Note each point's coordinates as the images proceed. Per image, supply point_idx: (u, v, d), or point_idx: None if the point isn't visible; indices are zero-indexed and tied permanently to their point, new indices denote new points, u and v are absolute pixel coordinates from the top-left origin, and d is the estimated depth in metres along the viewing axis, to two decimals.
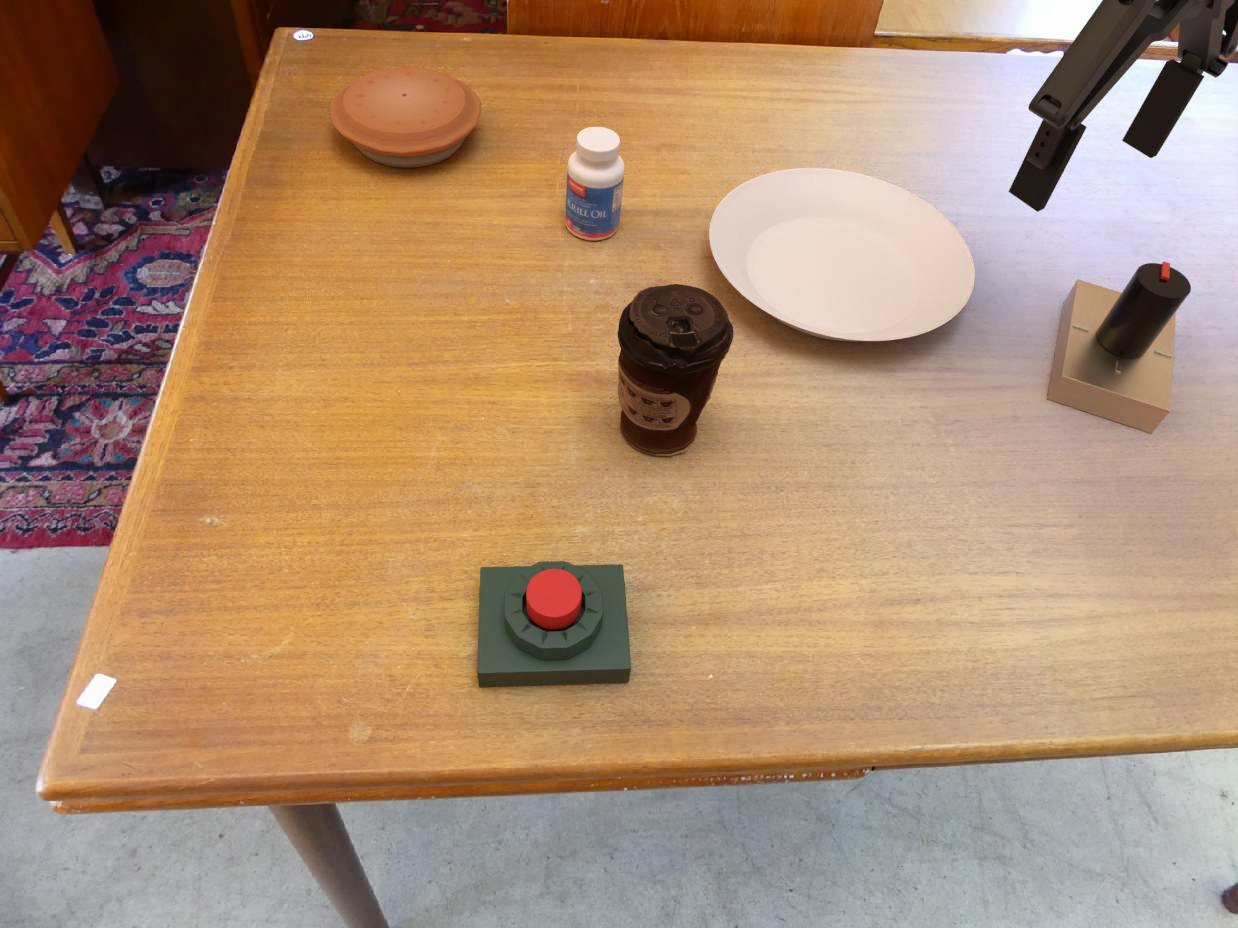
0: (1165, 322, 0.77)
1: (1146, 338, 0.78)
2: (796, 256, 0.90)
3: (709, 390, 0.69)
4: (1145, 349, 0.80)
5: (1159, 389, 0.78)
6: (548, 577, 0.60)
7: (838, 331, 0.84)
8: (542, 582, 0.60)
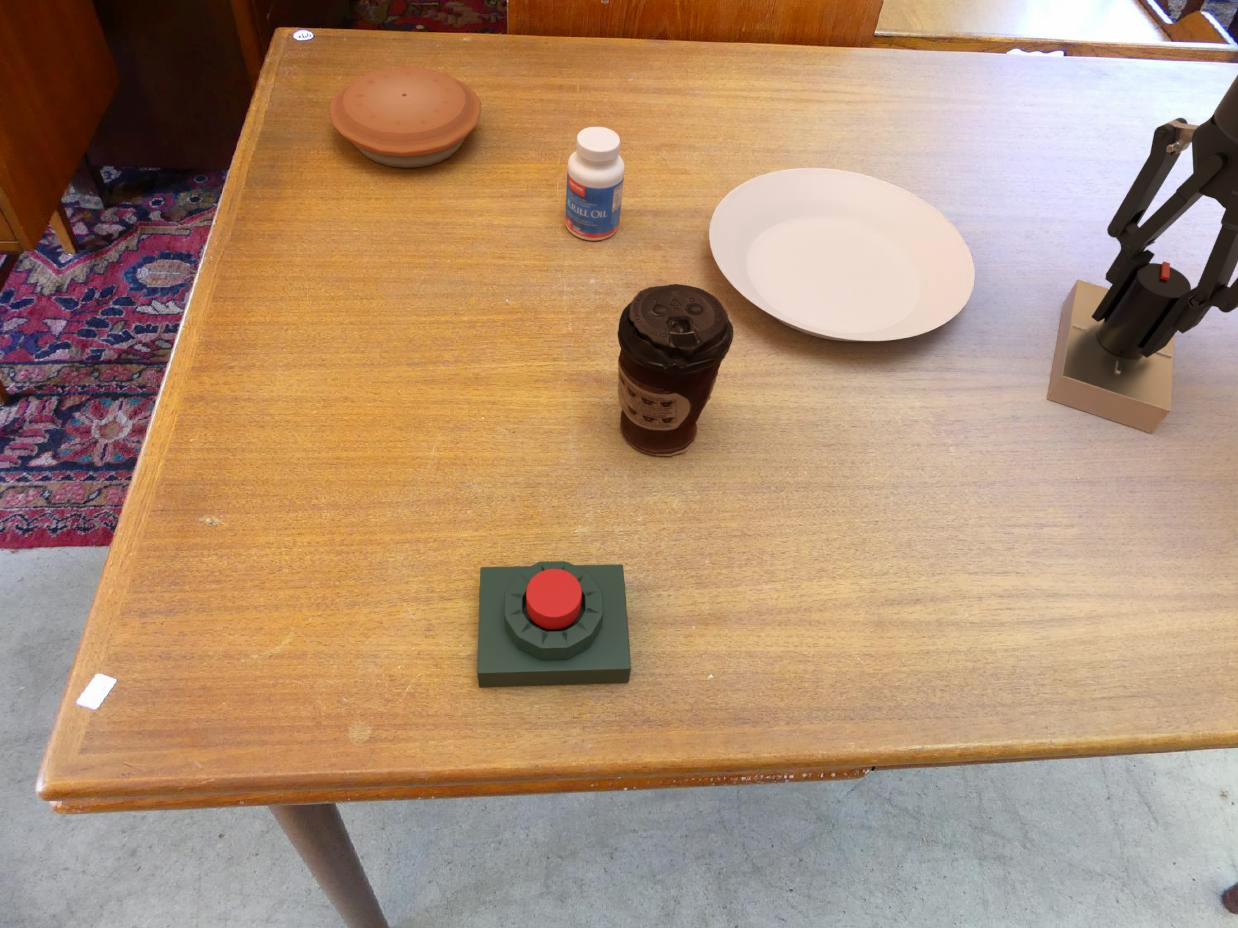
0: None
1: (1146, 338, 0.78)
2: (796, 256, 0.90)
3: (709, 390, 0.69)
4: None
5: (1159, 389, 0.78)
6: (548, 577, 0.60)
7: (838, 331, 0.84)
8: (542, 582, 0.60)
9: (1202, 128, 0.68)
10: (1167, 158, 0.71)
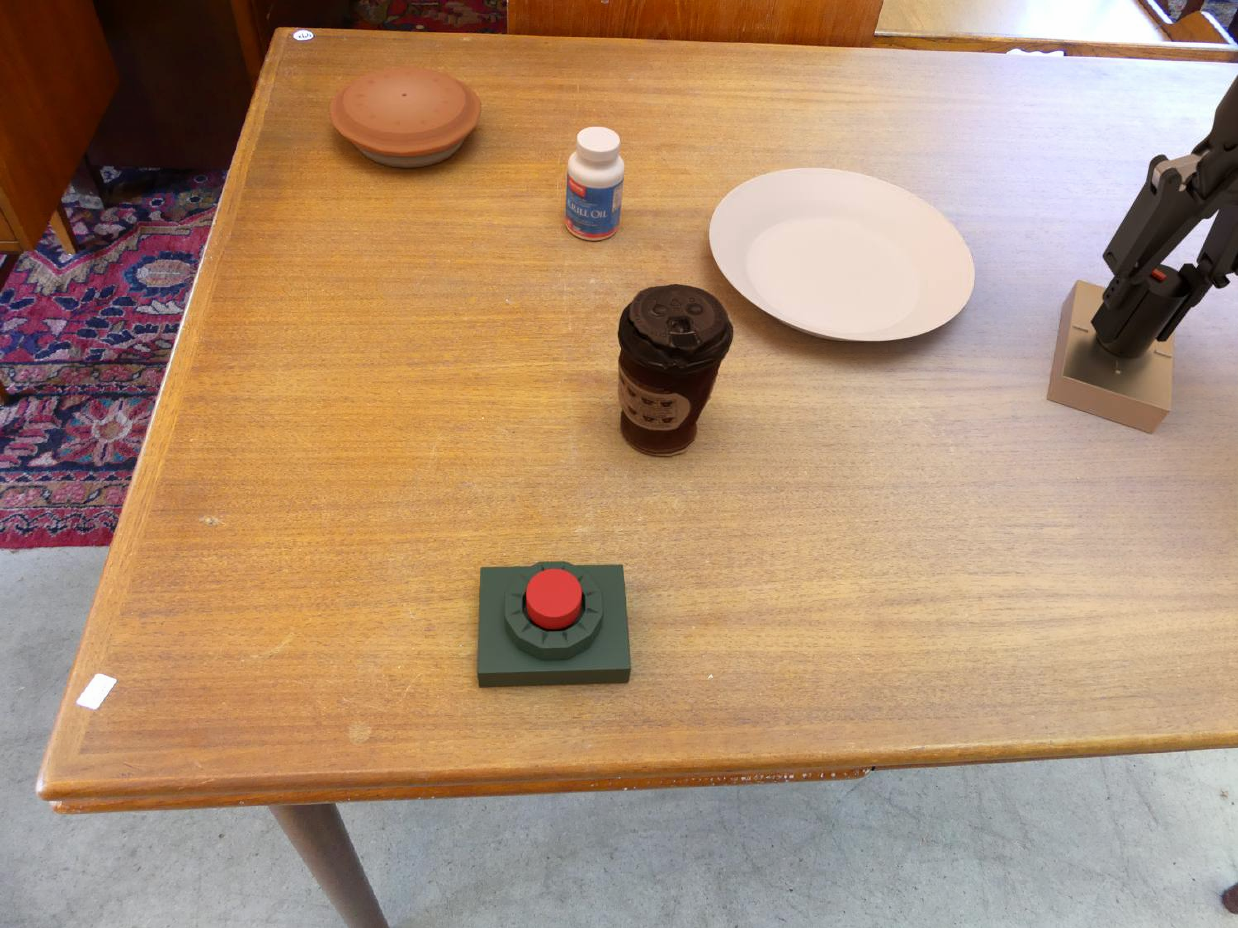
0: None
1: None
2: (796, 256, 0.90)
3: (709, 390, 0.69)
4: None
5: (1159, 389, 0.78)
6: (548, 577, 0.60)
7: (838, 331, 0.84)
8: (542, 582, 0.60)
9: (1215, 158, 0.65)
10: None
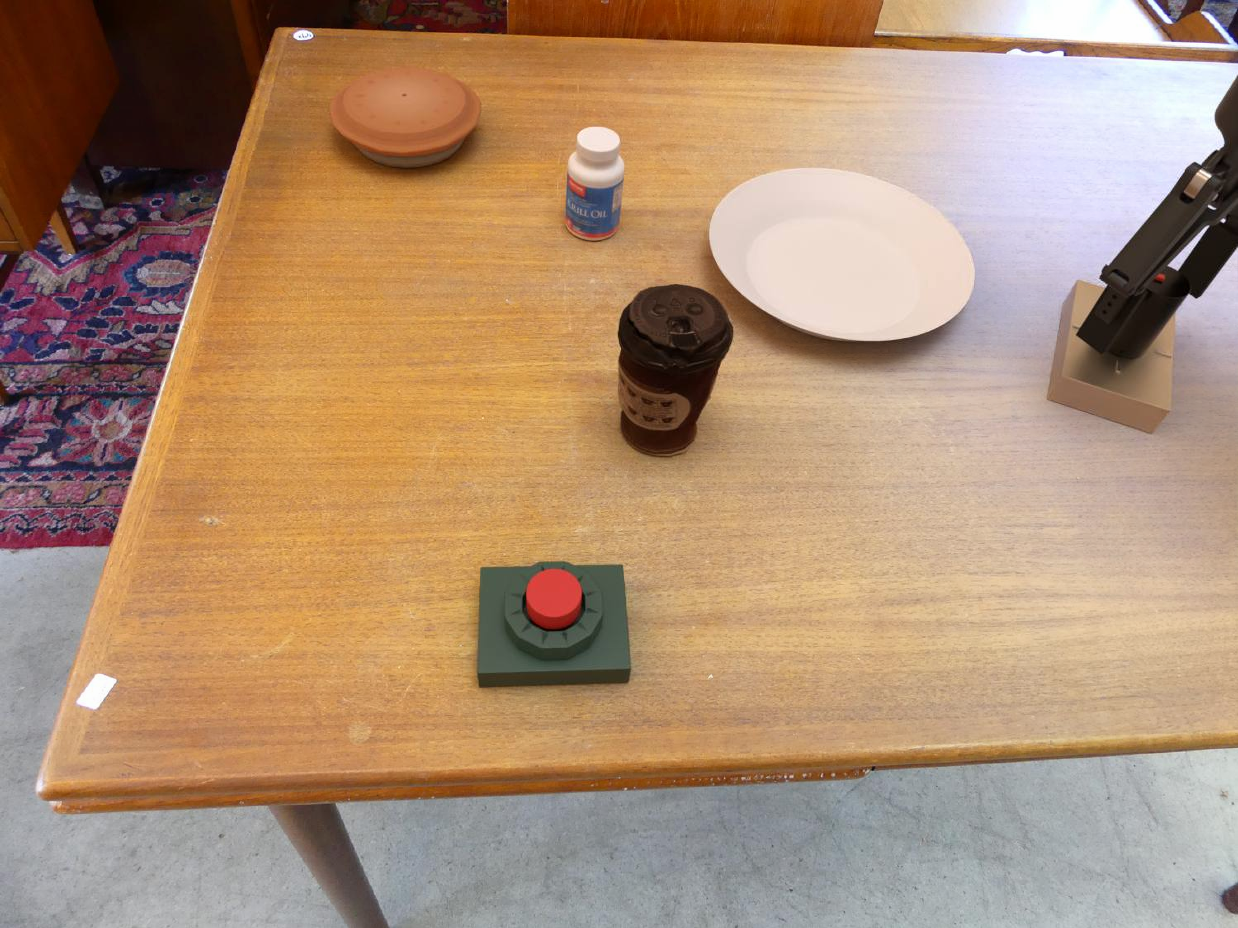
0: None
1: None
2: (796, 256, 0.90)
3: (709, 390, 0.69)
4: None
5: (1159, 389, 0.78)
6: (548, 577, 0.60)
7: (838, 331, 0.84)
8: (542, 582, 0.60)
9: None
10: None
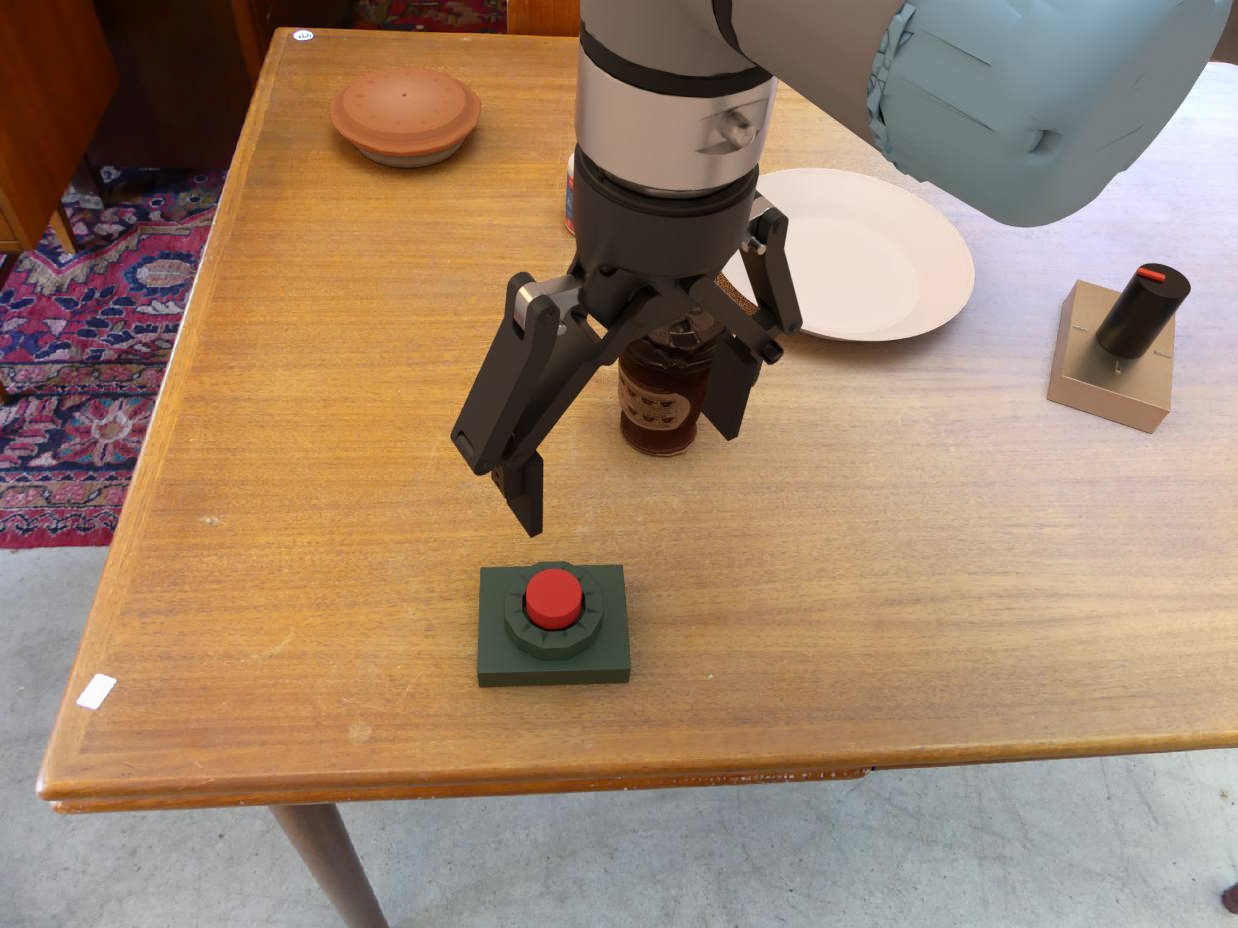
0: None
1: None
2: (796, 256, 0.90)
3: None
4: None
5: (1159, 389, 0.78)
6: (548, 577, 0.60)
7: (838, 331, 0.84)
8: (542, 582, 0.60)
9: (597, 290, 0.39)
10: None
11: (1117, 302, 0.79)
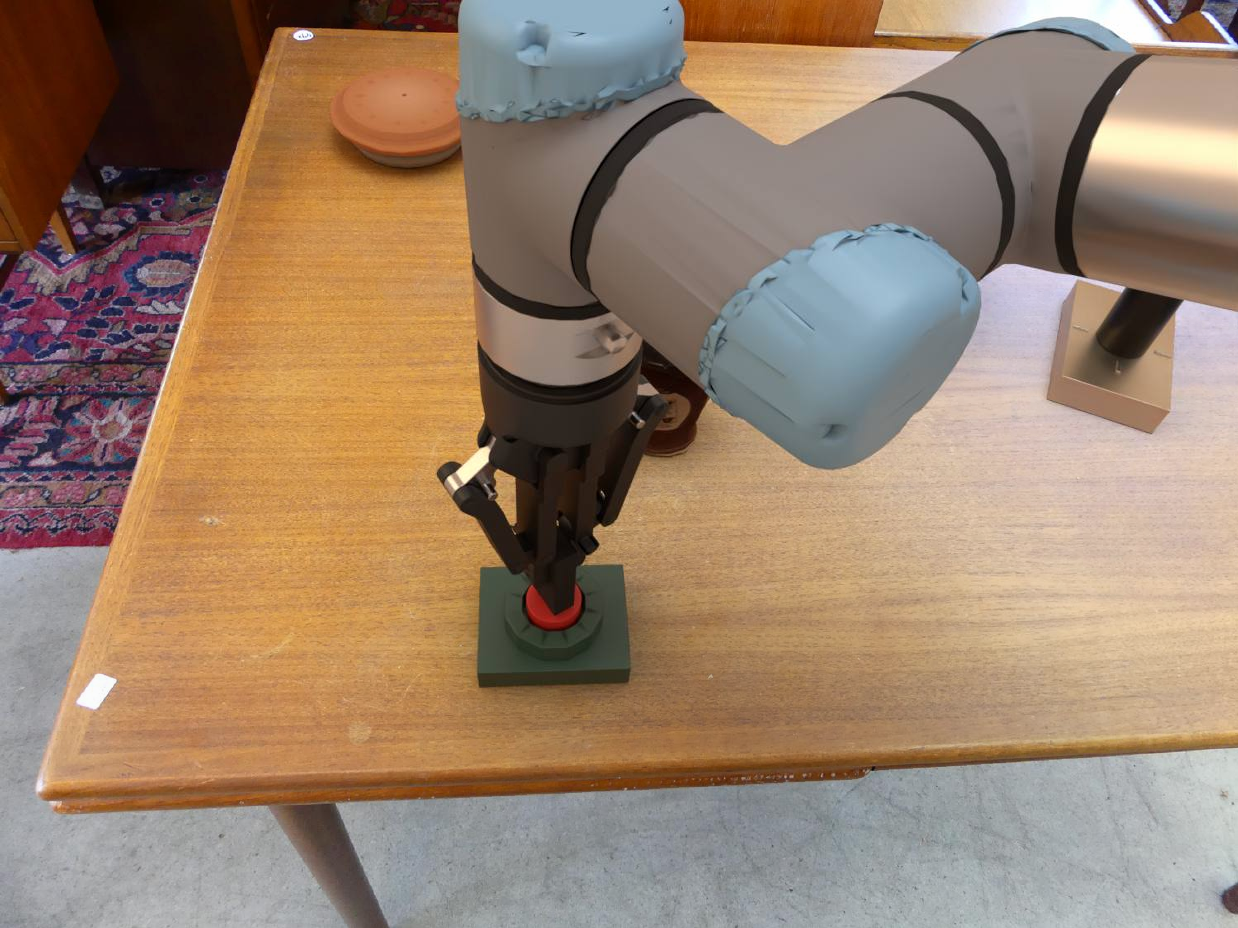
0: None
1: None
2: None
3: None
4: None
5: (1159, 389, 0.78)
6: None
7: None
8: None
9: (503, 454, 0.43)
10: None
11: (1117, 302, 0.79)
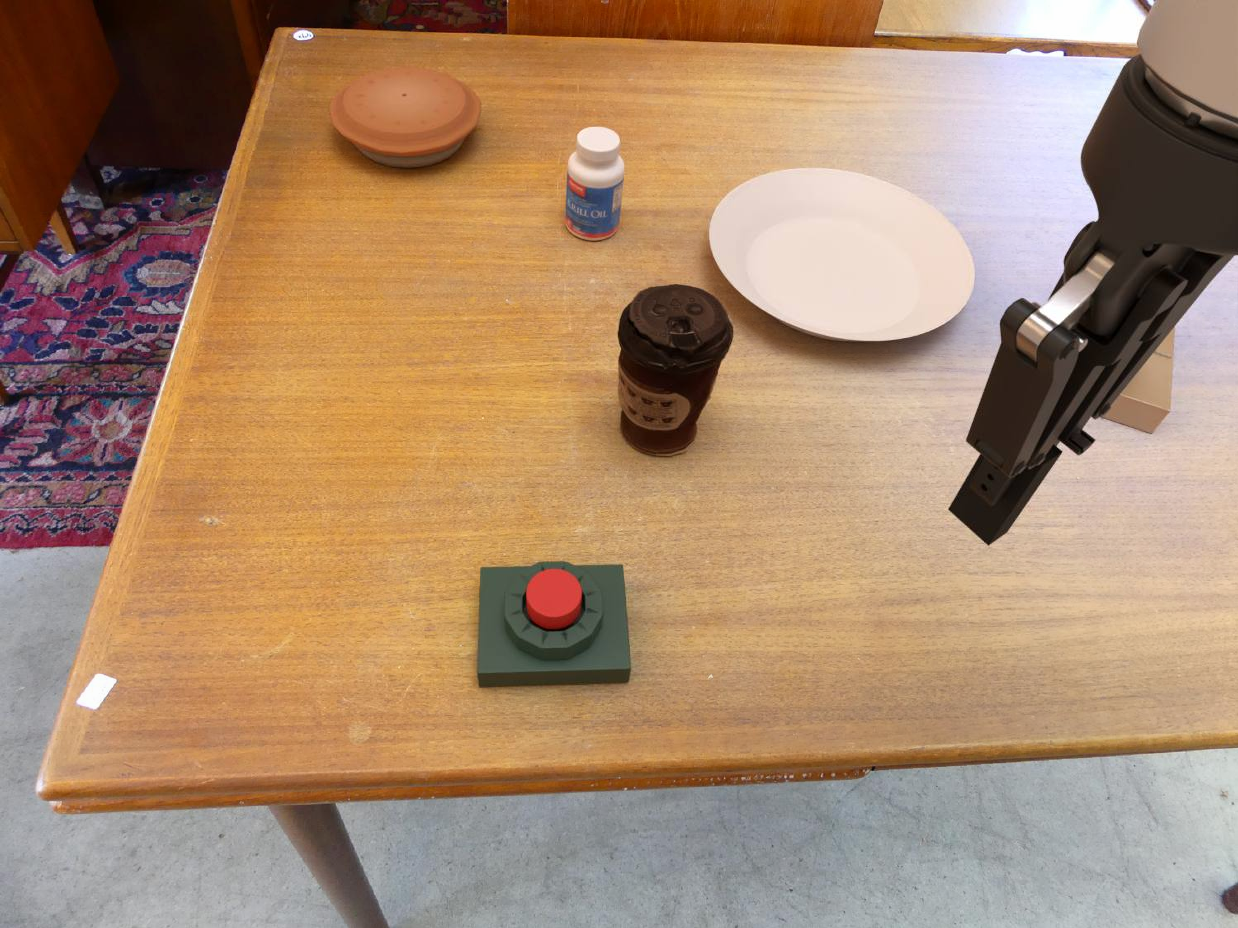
0: None
1: None
2: (796, 256, 0.90)
3: (709, 390, 0.69)
4: None
5: (1159, 389, 0.78)
6: (548, 577, 0.60)
7: (838, 331, 0.84)
8: (542, 582, 0.60)
9: (1129, 275, 0.31)
10: None
11: None
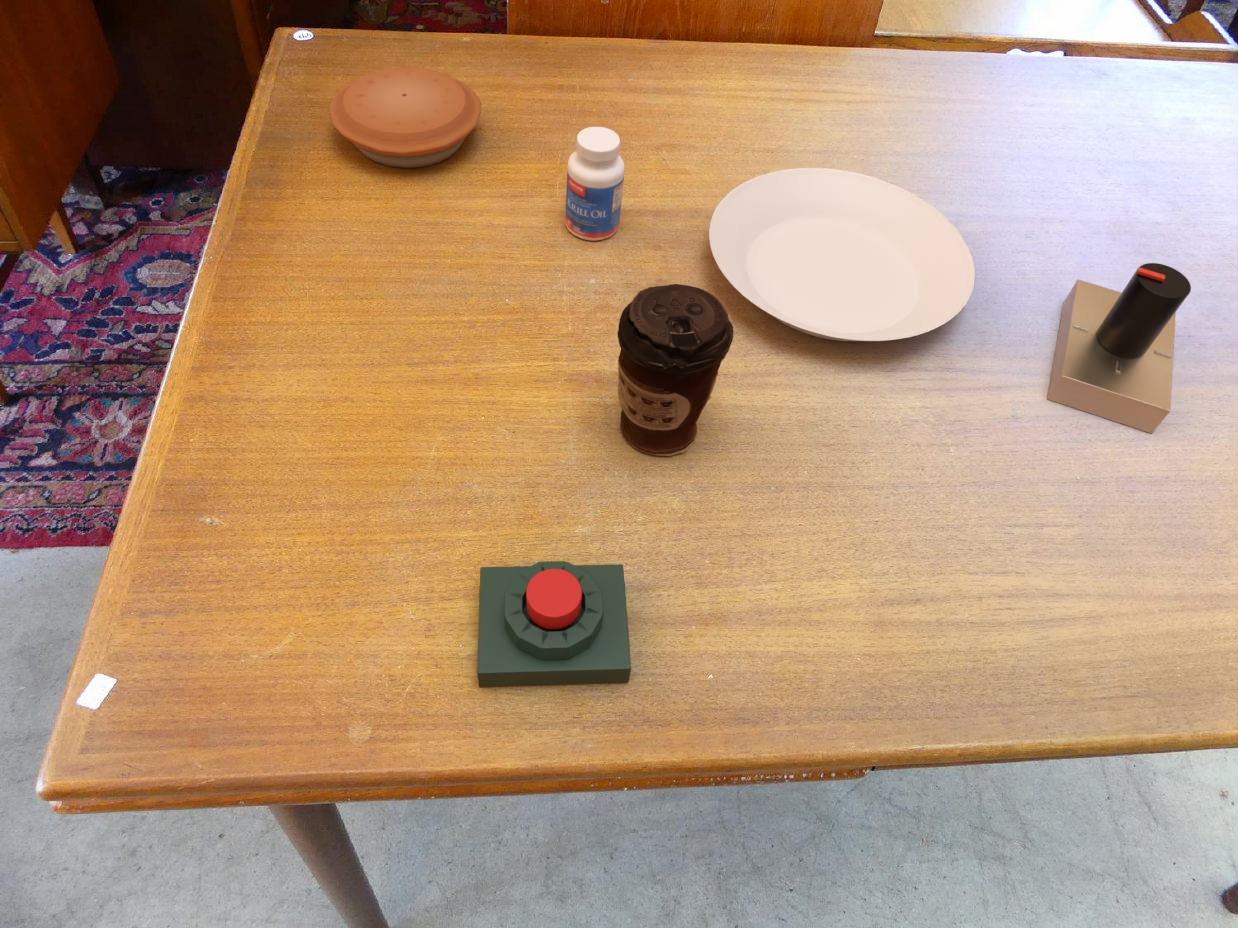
0: None
1: None
2: (796, 256, 0.90)
3: (709, 390, 0.69)
4: None
5: (1159, 389, 0.78)
6: (548, 577, 0.60)
7: (838, 331, 0.84)
8: (542, 582, 0.60)
9: None
10: None
11: (1117, 302, 0.79)
